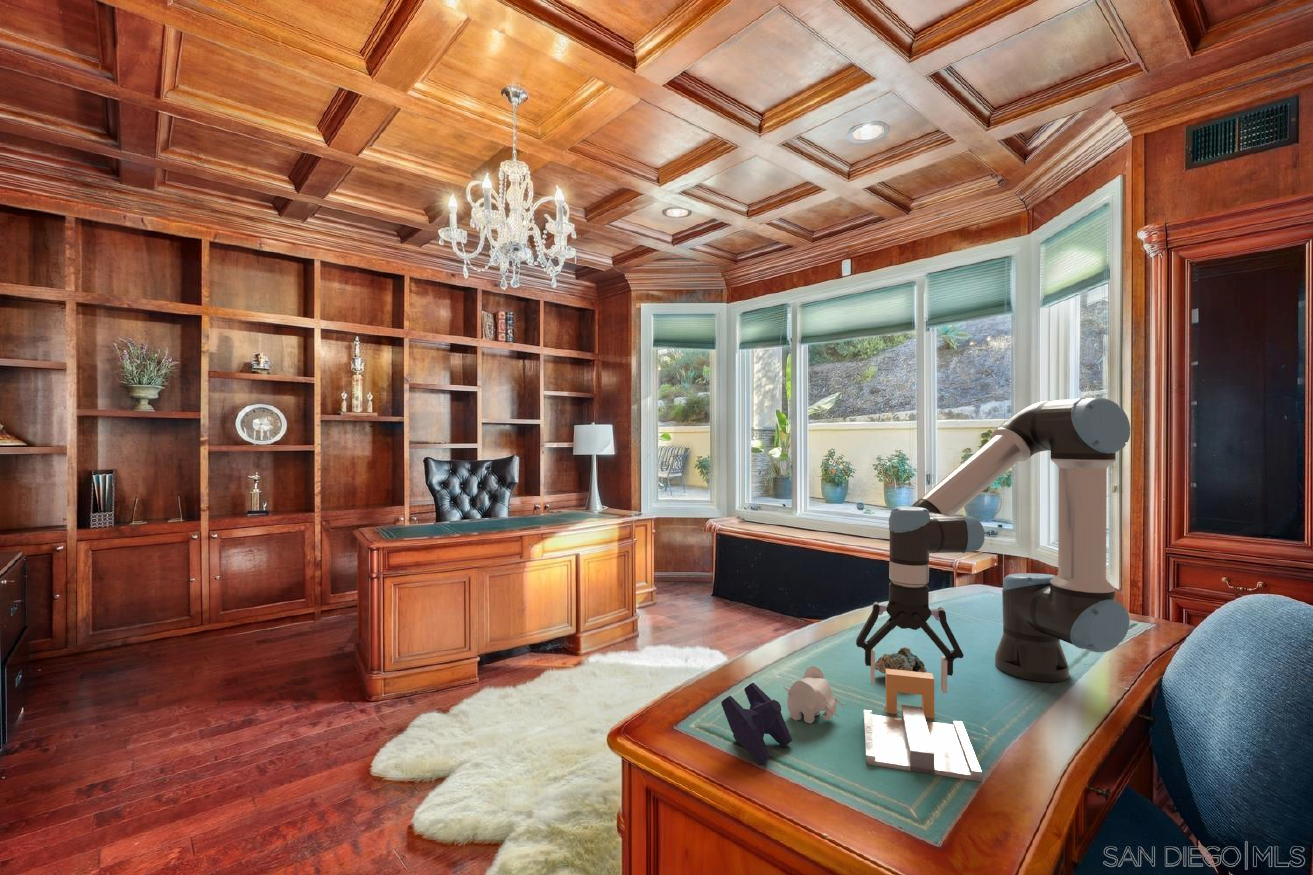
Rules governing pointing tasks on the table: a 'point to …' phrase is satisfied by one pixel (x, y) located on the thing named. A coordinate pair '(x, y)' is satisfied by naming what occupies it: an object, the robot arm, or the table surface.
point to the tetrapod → (756, 722)
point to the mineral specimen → (900, 662)
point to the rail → (919, 745)
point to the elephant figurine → (811, 697)
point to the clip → (910, 689)
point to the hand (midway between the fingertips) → (907, 685)
